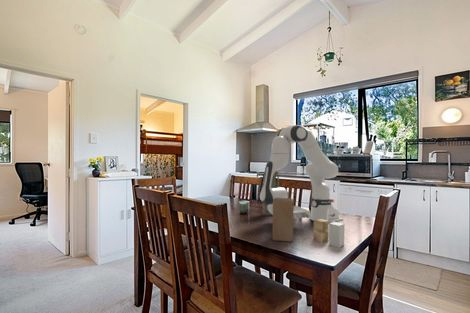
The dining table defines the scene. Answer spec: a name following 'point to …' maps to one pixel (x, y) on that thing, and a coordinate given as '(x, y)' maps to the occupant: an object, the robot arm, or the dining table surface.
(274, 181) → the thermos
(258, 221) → the dining table surface
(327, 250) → the dining table surface
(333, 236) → the grey block
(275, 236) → the block
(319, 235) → the oak block
